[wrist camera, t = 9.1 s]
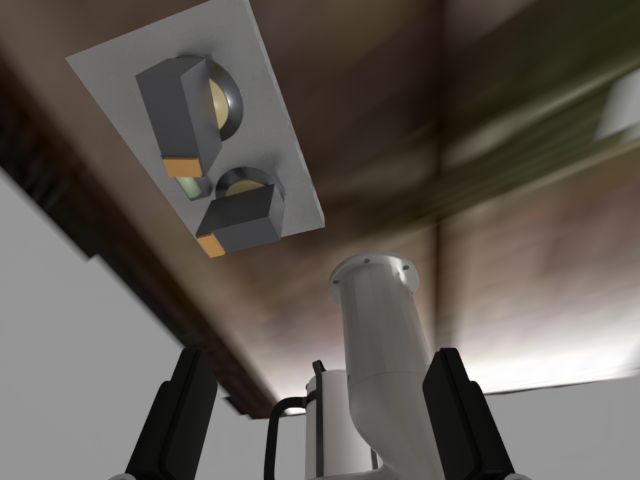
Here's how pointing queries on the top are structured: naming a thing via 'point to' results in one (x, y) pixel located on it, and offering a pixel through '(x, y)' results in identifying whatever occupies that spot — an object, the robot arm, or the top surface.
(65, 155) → the top surface
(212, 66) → the levelling plate
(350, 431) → the coffee press
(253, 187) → the knob
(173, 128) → the knob
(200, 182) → the bubble vial
